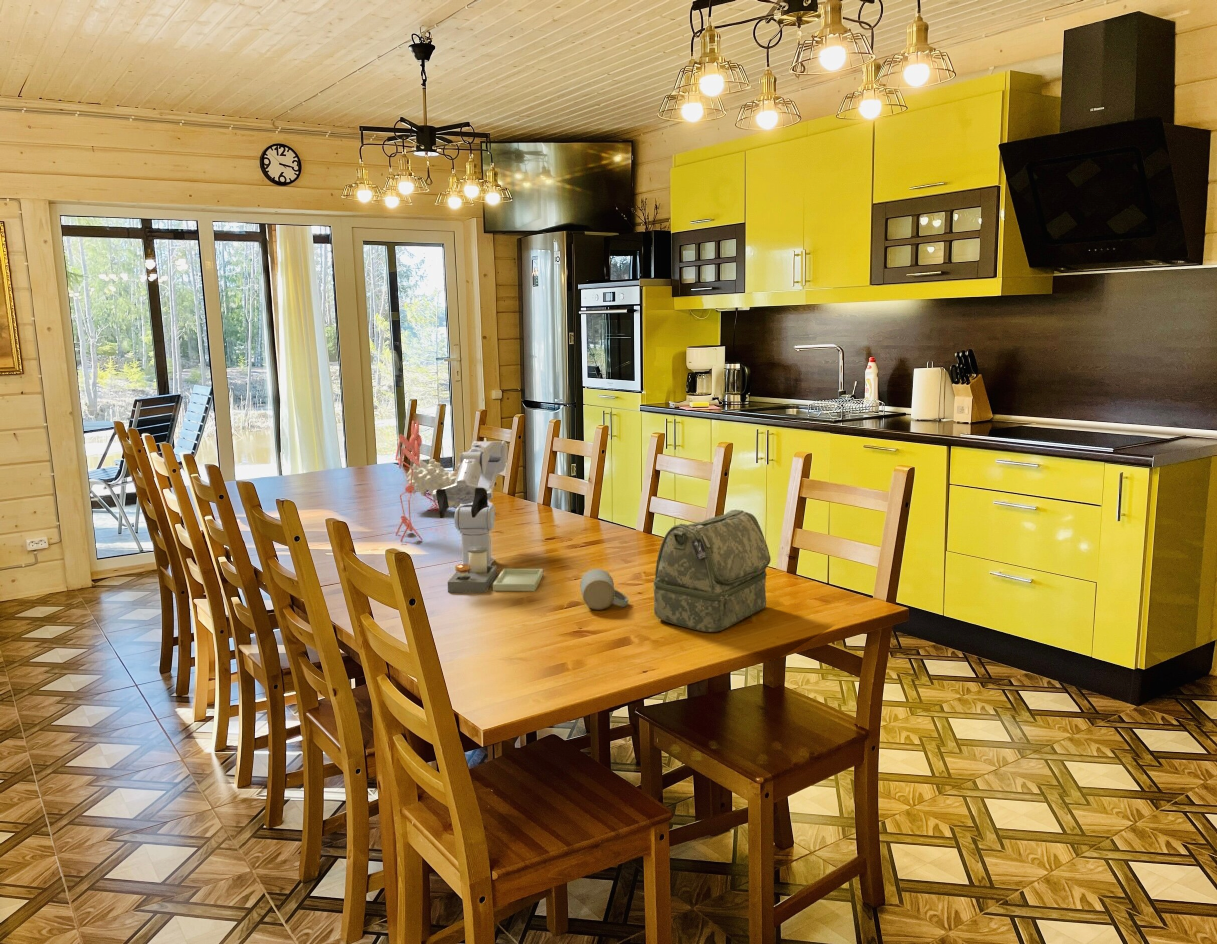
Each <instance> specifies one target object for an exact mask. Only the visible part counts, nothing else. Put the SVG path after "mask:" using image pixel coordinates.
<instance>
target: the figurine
mask: <svg viewBox="0 0 1217 944" xmlns="http://www.w3.org/2000/svg"><path fill="white" fill-rule="evenodd" d="M410 428H411V429H410V434H411V436H410V438H409V440H408V439H407V438H406V437H405V436H404V435H403V434H402V433H401V434H399V436H398V437H399V439H398V443H397V450H396V454H395V461H398V468H399V469H402V464H403V465H405V466H406V467H408V468H409V469H410V468H411V469H412V468H413V466H411V465H409V464H408V463H406V462H405V461H403V457H404V456H406V457H407V459H408V460H410V461H411V462H412V463H413V464H416V465H417V466H419V467H421V466H420V464H419V460H421V459H420V457H421V453H420V452H421V451H420V448H421V446H422V442H423V439H422V436H421V435H420V423H419V421H417V422H416V423H415V421H414V420H412V421H411V427H410ZM401 444H403V446H402V447H401ZM400 450H401V452H400ZM399 452H400V457H399V458H398V456H399ZM413 470H414V469H412V472H411V484H409V483H408V484H407V485H406V486H405V487H404V492H402V493H401V494H399V499H400V504H401V508H402V515H401V516H400V519H401V522H400V524H399V525H398V528H397V531H396V533H395V535H396V536H398V534H399V532H400V529H401V528H402V526H403V525H404V526H405V530H404V532H403V534H402V536H401V538H400V540H399V541H400V542H403V540H404V538H405V536H406V534H407V532H408V530H409V532H411V533H412V532H413V533H415V535H416V536H417V537H418V538H419V539H420V540H421V541H423V539H422V537H421V536H420V534H419V533H418V531H417V530H416V528H414V526H413V524H412V521H411V504H410V503H411V502H410V500H411V497H412V495H413V494H412V492H413V491H414V486H413V485H412V477H413ZM404 494H409V497H408V500H407V501H408V503H407V504H408V517H409V518H408V517H407V516H406V514H405V509H404V505H403V500H402V496H403V495H404ZM423 530H425V528H423ZM429 530H430V531H432V530H433V531H436V532H440V533H443V534H444V531H443V532H442V531H441V530H439V529H432V528H429ZM395 535H394V536H395ZM400 545H401V546H403V545H405V546H407V545H408V544H407V543H401V544H400Z"/></svg>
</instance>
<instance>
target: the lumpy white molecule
mask: <svg viewBox="0 0 1217 944" xmlns="http://www.w3.org/2000/svg"><path fill="white" fill-rule="evenodd" d="M428 462H429V464H428V463H427V462H424V460H422V459H419V464H420V466H421V467H419V466H417V465H416V464H414V463H413V465H412V467H413V468H412V469H414V470H413V477H412V485H413V486H414V491H413V492H412V494H411V495H413V494H414V495H415V494H416V493H420V496H422V497H423V496H424V497H425V498H427V499H429V500H430V501H431V502H433V503H434V504H433V503H432V504H431V505H432V506H430V508H429V509H426V511H429V510H430V511H431V510H432V511H437V510H439V506H438V501H434V500H433V492H434V490H438V489H442V488H445V487H448V486H451V485H454V483H455V480H456V476H457V473H458V469H455V470H452V471H450V472H449V471H446V469H445V468H444V467H443V466H441V465H442V464H441V462H437V461H436V459H433V458H432V459H430V460H429V461H428ZM412 469H411V468H409V471H408V472H407V473H406V478H407V479H406V482H407V484H408V485H409V484H411V472H412ZM431 497H432V498H431ZM448 505H449V508H450V509H451V508H453V509H455V510H456V509H457V507H459V506H460V503H456V502H452V501H448ZM433 507H434V508H433ZM431 508H433V509H431ZM430 511H429V512H430Z"/></svg>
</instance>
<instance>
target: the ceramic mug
mask: <svg viewBox="0 0 1217 944" xmlns="http://www.w3.org/2000/svg"><path fill="white" fill-rule="evenodd" d="M579 587H580V592H581V595H582V600H583V602H584V603H585V604H586V606H587V607H589V608H590V609H592V610H597V611H598V610H599V611H601V610H606V609H608V608H609V607H610V606H611V605H612V604H613V605H615V606H619V607H622V608H625V607H627V605H628V603H629V598H628V597H627V595H625V594H624V593H622V592H621V591H619V590H617V589H615V583H614V579H613V577H612V576H611V575H610V573H608V571H606V570H605V569H601V568H592V569H590V570H589V569H588V571H586V572H585V573H584V574H583V575H582V577H581V580H580V583H579Z"/></svg>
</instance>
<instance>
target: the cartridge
mask: <svg viewBox="0 0 1217 944" xmlns="http://www.w3.org/2000/svg"><path fill="white" fill-rule="evenodd" d="M486 551H487V547H485V546H473V547H469V548H468V552H469V565H471V570H470V571H469V573H487V553H486Z"/></svg>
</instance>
